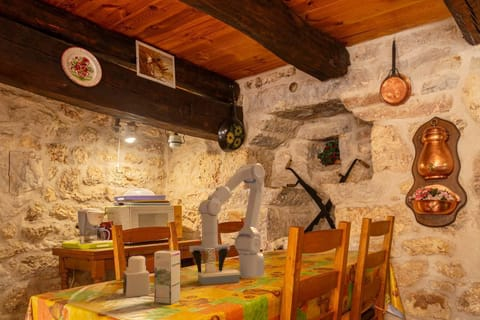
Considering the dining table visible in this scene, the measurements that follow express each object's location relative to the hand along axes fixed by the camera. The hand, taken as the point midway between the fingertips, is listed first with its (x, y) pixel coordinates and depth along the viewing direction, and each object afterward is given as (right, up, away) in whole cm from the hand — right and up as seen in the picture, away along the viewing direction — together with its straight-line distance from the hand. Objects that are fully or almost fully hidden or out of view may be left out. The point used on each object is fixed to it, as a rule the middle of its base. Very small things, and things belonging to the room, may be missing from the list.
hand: (210, 271), depth 137 cm
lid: (+3, -1, +1) cm, 3 cm away
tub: (+3, -4, 0) cm, 5 cm away
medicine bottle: (-22, -3, -15) cm, 27 cm away
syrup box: (-10, -1, -26) cm, 28 cm away
